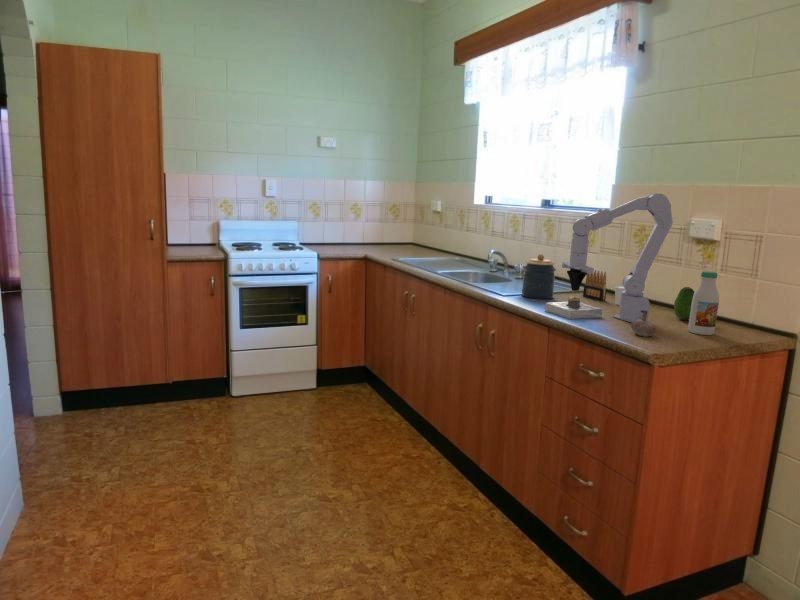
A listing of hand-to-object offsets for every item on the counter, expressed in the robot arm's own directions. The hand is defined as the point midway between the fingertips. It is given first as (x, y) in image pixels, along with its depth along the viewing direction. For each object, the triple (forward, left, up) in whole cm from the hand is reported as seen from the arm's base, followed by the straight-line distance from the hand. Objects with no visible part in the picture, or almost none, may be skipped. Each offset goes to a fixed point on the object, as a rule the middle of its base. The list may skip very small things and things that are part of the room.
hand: (575, 290), depth 211 cm
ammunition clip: (+23, -30, -9) cm, 39 cm away
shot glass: (+10, -33, -9) cm, 36 cm away
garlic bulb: (-31, -2, -9) cm, 32 cm away
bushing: (0, 0, -9) cm, 9 cm away
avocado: (-18, -35, -9) cm, 40 cm away
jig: (0, 0, -9) cm, 9 cm away
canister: (+32, -8, -9) cm, 34 cm away
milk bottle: (-34, -24, -9) cm, 43 cm away
